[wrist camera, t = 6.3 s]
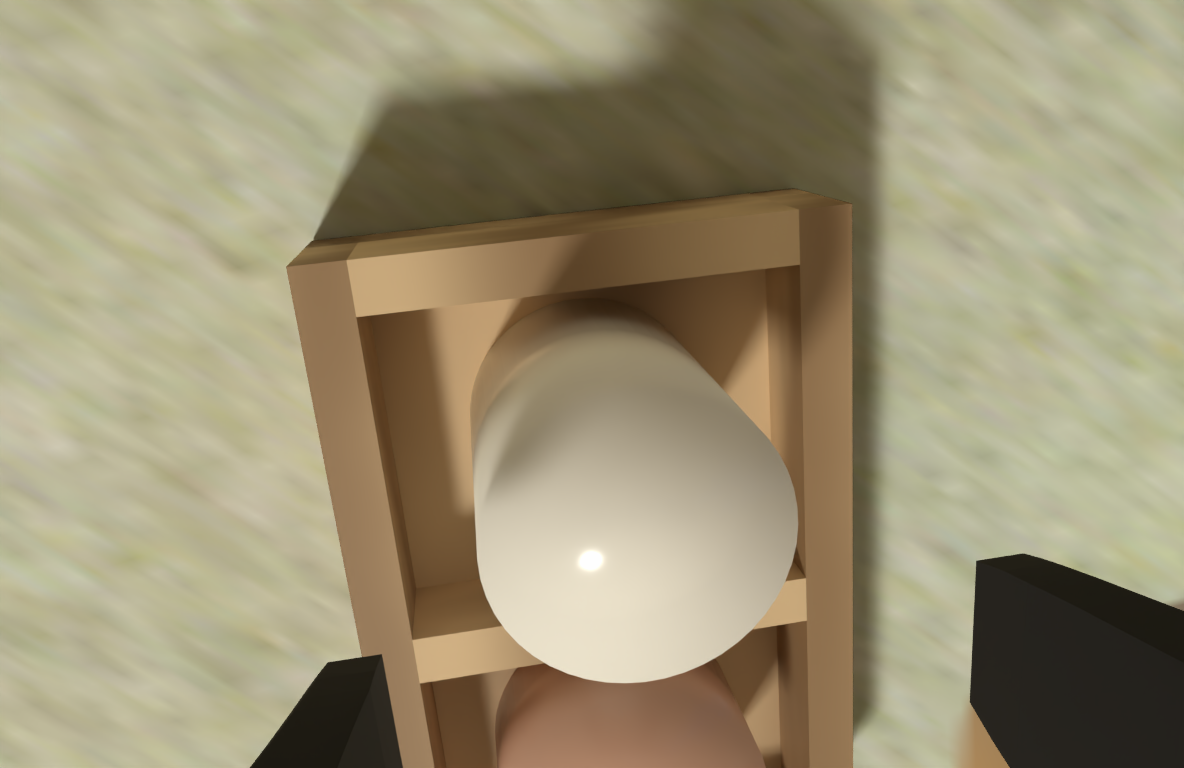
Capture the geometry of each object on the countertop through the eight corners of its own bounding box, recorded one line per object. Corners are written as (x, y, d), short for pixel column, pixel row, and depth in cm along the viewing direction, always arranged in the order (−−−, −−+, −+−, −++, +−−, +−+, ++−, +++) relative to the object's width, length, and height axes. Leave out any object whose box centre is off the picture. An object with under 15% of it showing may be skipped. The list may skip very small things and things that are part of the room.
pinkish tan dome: (724, 598, 21) (764, 670, 18) (734, 796, 23) (772, 888, 20) (480, 637, 20) (484, 717, 18) (509, 837, 22) (517, 937, 19)
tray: (793, 188, 19) (852, 203, 17) (806, 798, 24) (853, 891, 22) (312, 240, 18) (286, 266, 15) (427, 869, 23) (423, 976, 20)
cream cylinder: (696, 289, 19) (802, 372, 13) (698, 504, 20) (794, 663, 14) (459, 307, 18) (462, 402, 12) (480, 526, 20) (490, 701, 14)
